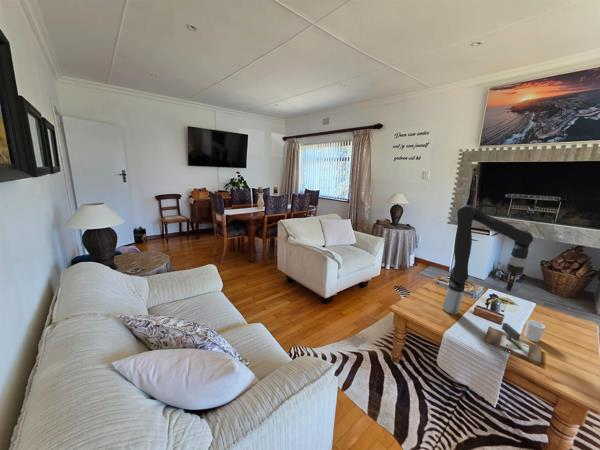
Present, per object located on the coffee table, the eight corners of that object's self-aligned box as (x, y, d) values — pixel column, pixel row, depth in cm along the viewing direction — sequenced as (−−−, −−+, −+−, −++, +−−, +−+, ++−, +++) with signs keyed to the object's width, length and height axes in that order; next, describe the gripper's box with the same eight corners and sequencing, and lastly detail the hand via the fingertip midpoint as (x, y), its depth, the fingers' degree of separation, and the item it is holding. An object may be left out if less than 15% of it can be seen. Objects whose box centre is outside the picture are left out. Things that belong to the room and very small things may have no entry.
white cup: (534, 343, 143) (539, 329, 140) (519, 334, 150) (524, 320, 148) (543, 341, 145) (548, 327, 143) (528, 332, 152) (533, 318, 150)
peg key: (500, 332, 148) (502, 322, 146) (504, 333, 148) (507, 323, 146) (518, 349, 134) (521, 339, 133) (522, 350, 134) (526, 339, 133)
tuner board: (483, 341, 143) (484, 338, 143) (488, 328, 154) (489, 325, 154) (539, 365, 127) (540, 362, 126) (540, 350, 138) (541, 346, 138)
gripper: (509, 258, 152) (502, 282, 156) (507, 265, 142) (499, 290, 146) (525, 262, 147) (518, 286, 151) (524, 269, 137) (516, 295, 141)
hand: (509, 288), depth 148 cm, fingers open, 8 cm apart
